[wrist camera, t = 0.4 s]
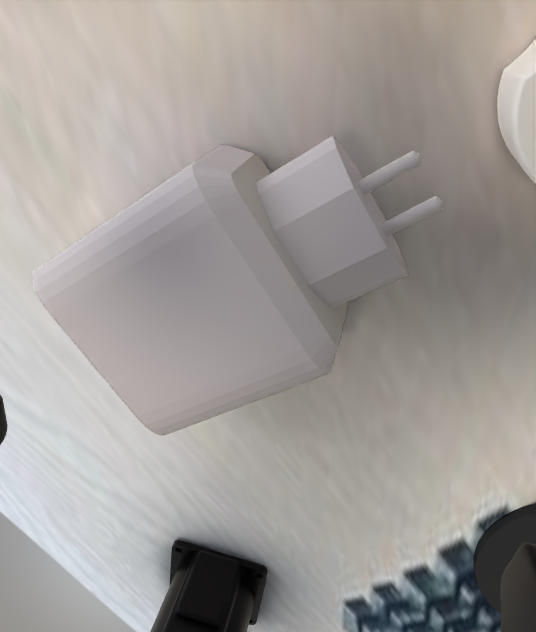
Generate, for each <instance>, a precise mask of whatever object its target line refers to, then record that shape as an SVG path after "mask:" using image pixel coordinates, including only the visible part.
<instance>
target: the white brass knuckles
mask: <svg viewBox="0 0 536 632" xmlns="http://www.w3.org/2000/svg"><path fill="white" fill-rule="evenodd" d="M497 115H498V123H499V127H500V131H501V134H502V137H503V140H504V142H505V144H506V146H507V148H508V150H509V151H510V153H511V154H512V156H513V157H514V158H515V160H516V161H517V162H518V163H519V165H520V166H521V167H522V169H523V170H524V171H525V172H526V174H527V175H528V176H529V177H530V179H531V180H532V181H533V182H534V183H535V184H536V39H535V40H534V41H533V42H532V44H531V45H530V46H529V47H528V48H527V49H526V50H525V51H524V52H523V53H522V54H521V55H520V56H519V57H518V58H517V59H516V60H515V61H513V62H512V63H511V64H510V65H508V66H507V67H506V68H505V69H504V70H503V73H502V77H501V80H500V85H499V90H498V98H497Z"/></svg>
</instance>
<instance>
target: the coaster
mask: <svg viewBox="0 0 536 632" xmlns="http://www.w3.org/2000/svg"><path fill="white" fill-rule="evenodd" d="M524 543H531V544H534V545H536V504H533V505H530V506H526V507H524V508H521V509H519V510H517V511H514V512H512V513H510V514H509V515H507V516H505V517H503V518H502V519H500V520H499V521H498V522H496V523H495V524H494V525H492V526H491V527H490V528H489V529H488V530H487V531H486V532H485V534H484V535H483V537H482V538H481V540H480V541H479V543H478V546H477V548H476V551H475V555H474V571H475V577H476V581H477V584H478V586H479V589H480V591H481V592H482V594H483V595H484V597H485V598H486V600H487V601H488V602H489V603H490V604H491V605H492V606H493V607H494V608H495V609H496V610H497V611H498V612H499V613H501V579H502V575H503V573H504V571H505V569H506V567H507V566H508V564H509V563H510V561H511V559H512V558H513V556H514V555H515V553H516V552H517V550H518V548H519V547H520V546H521V545H522V544H524Z"/></svg>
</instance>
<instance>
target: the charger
mask: <svg viewBox="0 0 536 632" xmlns="http://www.w3.org/2000/svg"><path fill="white" fill-rule="evenodd" d="M420 163H421V158H420V156H419V154H418V153H417V152H416V151H411V152H409V153H408V154H406V155H404V156H402V157H400V158H399V159H397V160H395V161H393V162H391V163H390V164H388V165H386V166H384V167H382V168H381V169H379V170H377V171H375V172H373V173H371V174H370V175H368V176H366V177H364V178H363V177H362V175H361V173H360V171H359V170H358V168H357V167H356V165H355V164H354V163H353V161H352V160H351V158H350V157H349V155H348V154H347V152H346V151H345V149H344V148H343V147H342V145H341V144H340V143H339V142H338V141H337V140H336V139H335V137H334V136H331V137H329V138H328V139H326V140H325V141H323V142H321V143H320V144H318V145H316V146H315V147H313V148H312V149H310V150H308V151H307V152H305V153H303V154H302V155H300V156H298V157H297V158H295V159H294V160H292V161H290V162H289V163H287V164H285V165H284V166H282V167H281V168H279V169H277V170H276V171H274V172H272V173H270V172H269V170H268V168H267V167H266V165H265V164H264V162H263V161H262V160H261V158H260V157H259V156H258V155H257V154H254V153H251V152H248V151H244V150H241V149H238V148H234V147H231V146H228V145H224V144H221V145H220V146H218V147H216V148H215V149H213V150H212V151H210V152H209V153H207V154H206V155H204V156H202V157H201V158H199V159H198V160H196V161H195V162H193V163H192V164H190V165H189V166H187V167H186V168H184V169H183V170H181V171H180V172H178V173H177V174H176V175H174V176H173V177H171V178H170V179H168V180H167V181H165V182H164V183H162V184H161V185H159V186H158V187H156V188H155V189H153V190H152V191H151V192H149V193H148V194H146V195H145V196H143V197H142V198H140V199H139V200H137V201H136V202H134V203H133V204H131V205H130V206H128V207H127V208H126V209H124V210H123V211H121V212H120V213H118V214H117V215H115V216H114V217H112V218H111V219H109V220H108V221H106V222H105V223H104V224H102V225H101V226H99V227H98V228H96V229H95V230H93V231H92V232H90V233H89V234H87V235H86V236H84V237H83V238H81V239H80V240H79V241H77V242H76V243H74V244H73V245H71V246H70V247H68V248H67V249H65V250H64V251H62V252H61V253H59V254H58V255H56V256H55V257H54V258H52V259H51V260H49V261H48V262H46V263H45V264H43V265H42V266H40V267H39V268H37V269H36V270H34V272H33V274H32V284H33V286H34V289H35V292H36V294H37V296H38V297H39V299H40V301H41V303H42V304H43V306H44V307H45V308H46V310H47V311H48V312H49V314H50V315H51V316H52V317H53V319H54V320H55V321H56V322H57V323H58V325H59V326H60V327H61V328H62V329H63V330H64V332H65V333H66V334H67V335H68V336H69V338H70V339H71V340H72V341H73V342H74V344H75V345H76V346H77V347H78V348H79V350H80V351H81V352H82V353H83V354H84V356H85V357H86V358H87V359H88V360H89V361H90V363H91V364H92V365H93V366H94V367H95V369H96V370H97V371H98V372H99V373H100V375H101V376H102V377H103V378H104V379H105V381H106V382H107V383H108V384H109V385H110V387H111V388H112V389H113V390H114V391H115V392H116V394H117V395H118V396H119V397H120V398H121V400H122V401H123V402H124V403H125V404H126V406H127V407H128V408H129V409H130V410H131V412H132V413H133V414H134V415H135V416H136V418H137V419H138V420H139V421H140V422H141V423H142V424H143V425H144V426H145V427H147V428H148V429H149V430H150V431H152V432H154V433H156V434H158V435H166V434H169V433H172V432H174V431H177V430H180V429H182V428H185V427H188V426H190V425H193V424H196V423H198V422H201V421H204V420H206V419H209V418H212V417H214V416H217V415H220V414H222V413H225V412H228V411H230V410H233V409H236V408H238V407H241V406H244V405H246V404H249V403H252V402H254V401H257V400H259V399H262V398H265V397H267V396H270V395H273V394H275V393H278V392H281V391H283V390H286V389H289V388H291V387H294V386H297V385H299V384H302V383H305V382H307V381H310V380H313V379H315V378H318V377H321V376H323V375H326V374H328V373H329V372H330V370H331V367H332V364H333V361H334V358H335V355H336V352H337V349H338V346H339V343H340V338H341V334H342V329H343V325H344V320H345V316H346V311H347V302H348V301H351V300H353V299H355V298H358V297H360V296H362V295H364V294H367V293H369V292H371V291H373V290H376V289H378V288H380V287H383V286H385V285H387V284H389V283H392V282H394V281H396V280H398V279H401V278H403V277H405V276H408V275H409V273H408V270H407V267H406V264H405V261H404V259H403V256H402V254H401V252H400V250H399V247H398V245H397V243H396V240H395V238H394V236H393V233H395V232H397V231H399V230H401V229H403V228H406V227H408V226H410V225H412V224H414V223H416V222H418V221H420V220H422V219H424V218H426V217H428V216H430V215H432V214H434V213H436V212H439V211H441V210H442V209H443V202H442V200H441V199H440V198H439V197H437V196H434V197H432V198H430V199H428V200H426V201H424V202H422V203H420V204H418V205H416V206H414V207H412V208H410V209H408V210H406V211H404V212H402V213H400V214H398V215H396V216H394V217H392V218H390V219H388V220H386V219H385V217H384V215H383V213H382V212H381V210H380V208H379V206H378V204H377V202H376V200H375V199H374V197H373V195H372V193H371V191H373V190H374V189H376V188H378V187H380V186H382V185H384V184H386V183H387V182H389V181H391V180H393V179H395V178H397V177H399V176H400V175H402V174H404V173H406V172H408V171H410V170H412V169H414V168H415V167H417V166H419V165H420Z"/></svg>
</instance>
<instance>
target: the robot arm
mask: <svg viewBox="0 0 536 632" xmlns="http://www.w3.org/2000/svg"><path fill="white" fill-rule="evenodd" d="M6 432H7V421H6V415H5V409H4V404H3V399H2V396H1V395H0V445H1V443H2V442H3V440H4V438H5V436H6ZM267 573H268V570H267V569H266V568H265V567H264V566H262V565H259V564H256V563H252V562H249V561H246V560H243V559H240V558H236V557H233V556H230V555H227V554H224V553H220V552H217V551H214V550H211V549H208V548H204V547H201V546H198V545H195V544H191V543H188V542H185V541H182V540H176V541H175V542H174V544H173V547H172V556H171V573H170V587H169V590H168V592H167V594H166V597H165V599H164V601H163V604H162V606H161V608H160V611H159V613H158V615H157V618H156V620H155V622H154V625H153V627H152V629H151V632H247V628H248V625H249V624H250V625H254V624H256V621H257V617H258V613H259V608H260V604H261V600H262V595H263V591H264V586H265V582H266V578H267ZM501 632H536V545H534V544H531V543H524V544H522V545H521V546H520V547H519V548H518V550H517V552H516V553H515V555H514V556H513V558H512V559H511V561H510V563H509V564H508V566H507V567H506V569H505V571H504V573H503V575H502V579H501Z"/></svg>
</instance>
